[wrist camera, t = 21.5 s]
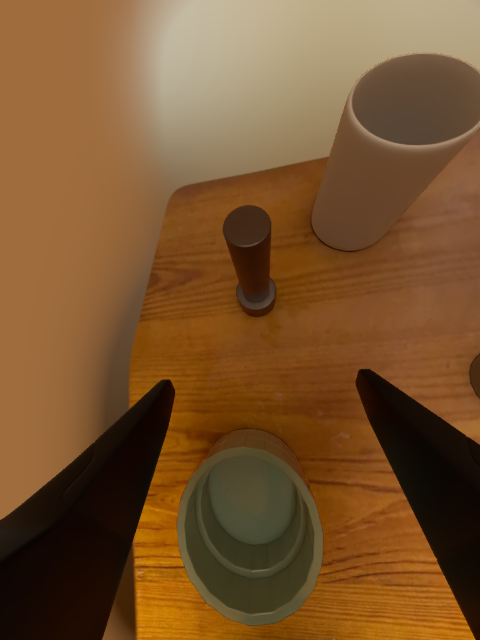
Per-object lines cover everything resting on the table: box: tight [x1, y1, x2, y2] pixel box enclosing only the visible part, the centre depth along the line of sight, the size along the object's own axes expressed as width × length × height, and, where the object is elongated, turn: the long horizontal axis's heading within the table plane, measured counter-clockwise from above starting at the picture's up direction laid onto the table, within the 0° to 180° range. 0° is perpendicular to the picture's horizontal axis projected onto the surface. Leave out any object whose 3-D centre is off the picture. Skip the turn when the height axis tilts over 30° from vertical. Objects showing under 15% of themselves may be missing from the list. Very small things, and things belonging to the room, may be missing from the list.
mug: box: [311, 53, 480, 251], centre depth 18 cm, size 12×8×11 cm
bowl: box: [177, 428, 323, 626], centre depth 16 cm, size 10×10×5 cm
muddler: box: [223, 205, 276, 317], centre depth 16 cm, size 4×4×12 cm
